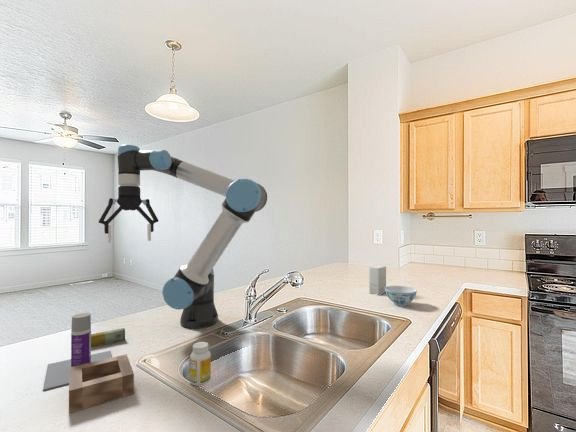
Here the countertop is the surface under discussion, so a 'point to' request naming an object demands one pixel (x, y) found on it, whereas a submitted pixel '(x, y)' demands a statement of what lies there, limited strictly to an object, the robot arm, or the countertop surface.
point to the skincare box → (377, 279)
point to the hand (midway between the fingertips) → (130, 241)
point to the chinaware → (400, 294)
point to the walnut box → (100, 382)
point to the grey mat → (66, 371)
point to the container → (81, 339)
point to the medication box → (107, 337)
